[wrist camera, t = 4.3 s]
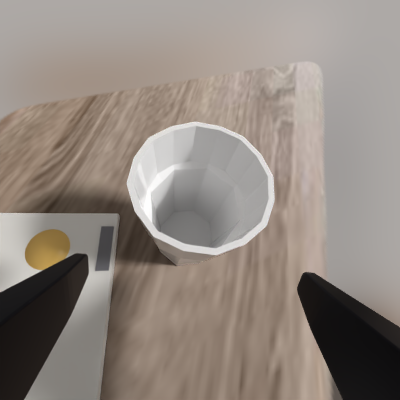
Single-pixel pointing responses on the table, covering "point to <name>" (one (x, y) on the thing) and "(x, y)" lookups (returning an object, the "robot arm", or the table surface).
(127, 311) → the table surface
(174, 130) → the cup
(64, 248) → the indicator panel
